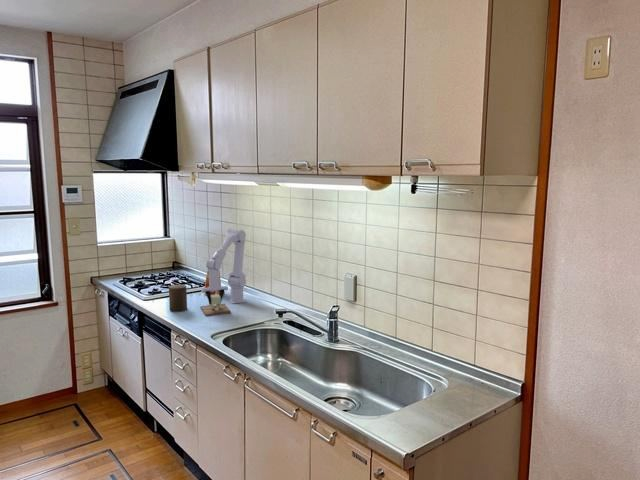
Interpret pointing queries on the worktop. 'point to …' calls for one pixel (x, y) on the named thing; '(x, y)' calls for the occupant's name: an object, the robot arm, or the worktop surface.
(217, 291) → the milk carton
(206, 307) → the cleat board
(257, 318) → the worktop surface
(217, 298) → the saddle block
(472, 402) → the worktop surface
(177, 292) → the pillar candle
